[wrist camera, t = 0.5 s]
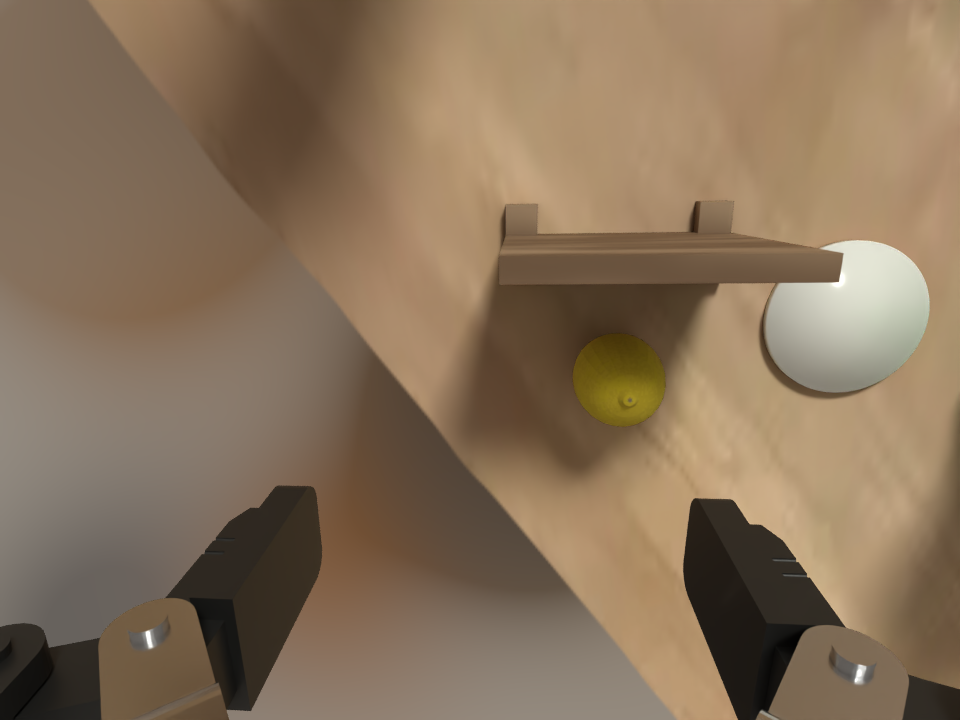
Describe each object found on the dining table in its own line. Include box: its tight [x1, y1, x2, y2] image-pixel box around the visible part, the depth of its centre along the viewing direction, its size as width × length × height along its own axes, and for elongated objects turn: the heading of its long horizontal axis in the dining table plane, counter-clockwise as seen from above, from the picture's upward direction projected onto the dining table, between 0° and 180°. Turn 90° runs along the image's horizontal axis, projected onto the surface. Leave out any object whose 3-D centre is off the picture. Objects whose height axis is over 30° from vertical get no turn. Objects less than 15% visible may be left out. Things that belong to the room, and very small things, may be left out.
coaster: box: [763, 240, 929, 393], centre depth 38 cm, size 10×10×1 cm
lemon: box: [573, 333, 666, 427], centre depth 36 cm, size 6×6×8 cm
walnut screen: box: [499, 201, 844, 285], centre depth 31 cm, size 5×14×14 cm, turn 91°
